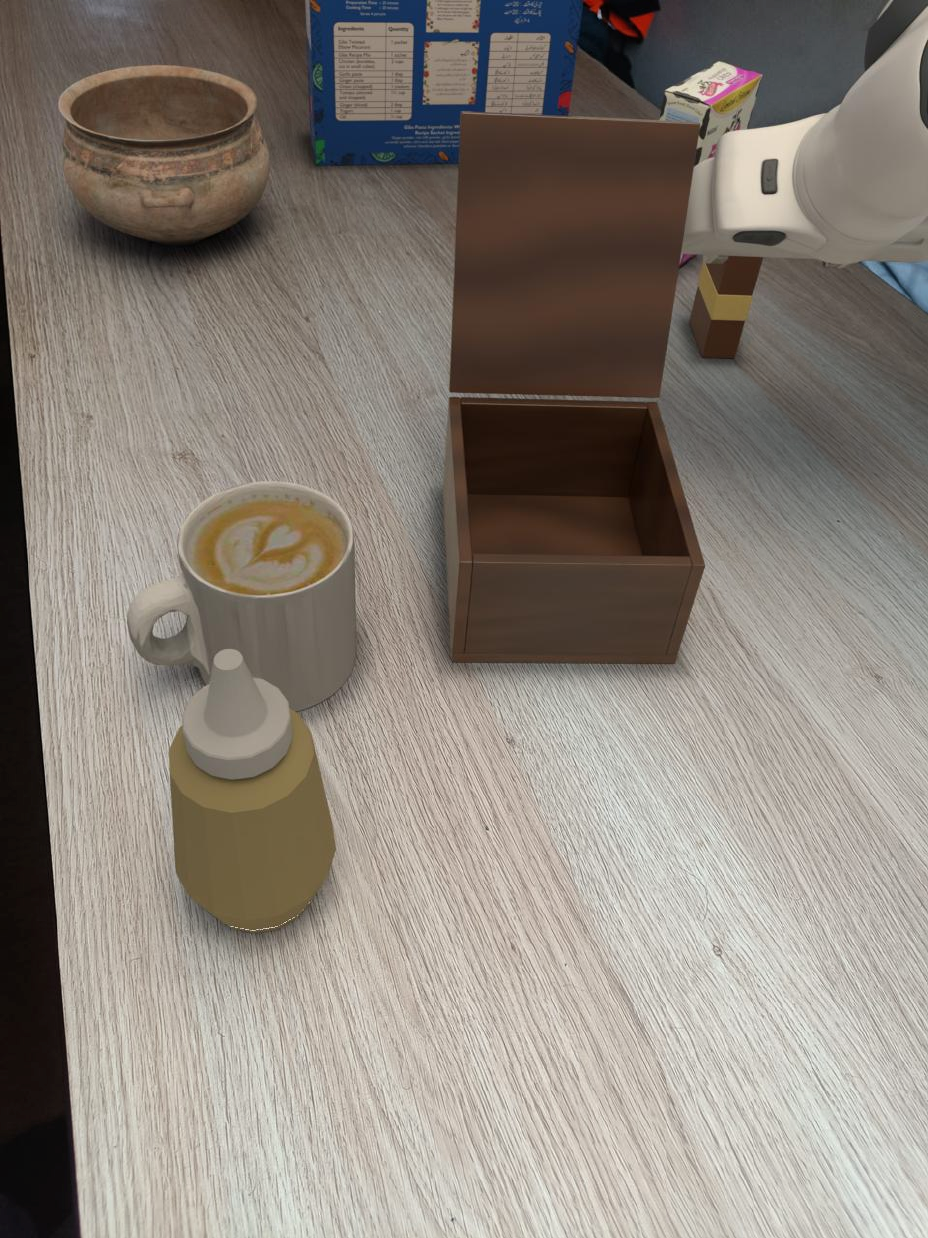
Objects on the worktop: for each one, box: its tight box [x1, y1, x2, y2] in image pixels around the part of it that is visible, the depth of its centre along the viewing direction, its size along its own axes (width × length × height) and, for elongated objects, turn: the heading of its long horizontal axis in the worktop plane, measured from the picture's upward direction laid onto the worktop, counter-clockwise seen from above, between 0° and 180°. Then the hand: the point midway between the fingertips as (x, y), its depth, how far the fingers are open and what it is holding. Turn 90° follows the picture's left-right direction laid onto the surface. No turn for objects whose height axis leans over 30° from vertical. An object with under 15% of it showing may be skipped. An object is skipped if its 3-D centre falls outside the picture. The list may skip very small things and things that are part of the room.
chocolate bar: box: [688, 256, 764, 359], centre depth 94 cm, size 3×6×10 cm, turn 3°
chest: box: [442, 396, 706, 664], centre depth 71 cm, size 17×15×9 cm
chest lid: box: [448, 111, 700, 399], centre depth 71 cm, size 17×15×4 cm
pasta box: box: [304, 0, 584, 167], centre depth 112 cm, size 28×8×28 cm, turn 100°
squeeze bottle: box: [168, 649, 337, 934], centre depth 50 cm, size 8×8×18 cm
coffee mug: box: [126, 480, 357, 713], centre depth 64 cm, size 13×10×10 cm
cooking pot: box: [57, 64, 270, 247], centre depth 101 cm, size 25×19×12 cm
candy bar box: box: [658, 61, 763, 268], centre depth 103 cm, size 11×5×16 cm, turn 144°
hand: (772, 255), depth 82 cm, fingers open, 8 cm apart
